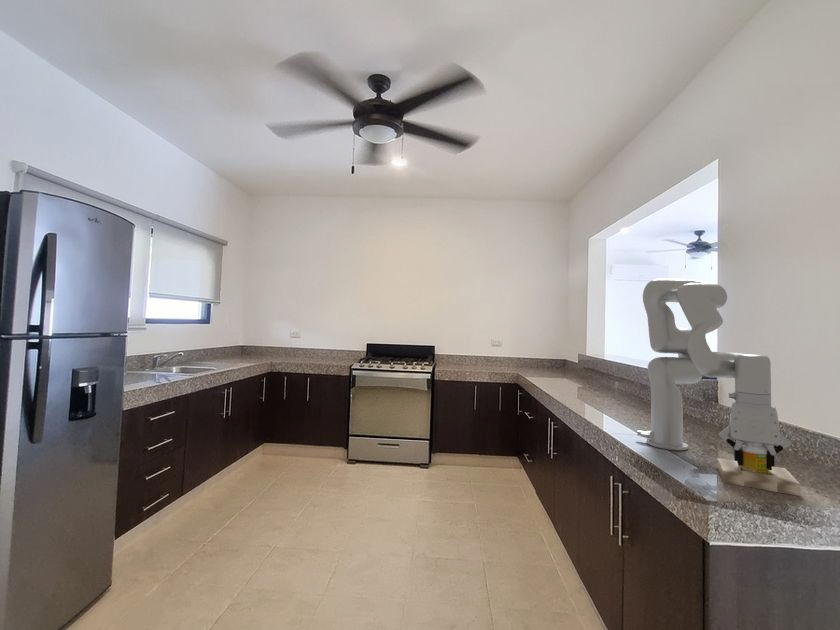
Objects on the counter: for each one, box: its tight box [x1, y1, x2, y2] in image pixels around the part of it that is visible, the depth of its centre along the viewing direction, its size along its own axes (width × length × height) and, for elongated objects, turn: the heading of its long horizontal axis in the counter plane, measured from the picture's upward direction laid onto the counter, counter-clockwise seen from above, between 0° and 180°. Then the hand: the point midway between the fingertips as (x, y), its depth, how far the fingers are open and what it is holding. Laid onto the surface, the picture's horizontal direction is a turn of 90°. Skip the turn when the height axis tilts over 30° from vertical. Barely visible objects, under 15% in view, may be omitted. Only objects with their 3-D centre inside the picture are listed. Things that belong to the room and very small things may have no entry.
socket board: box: [716, 457, 801, 497], centre depth 105 cm, size 15×14×3 cm
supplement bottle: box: [740, 441, 768, 475], centre depth 106 cm, size 5×5×10 cm
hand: (753, 465), depth 106 cm, fingers closed on supplement bottle, 5 cm apart
